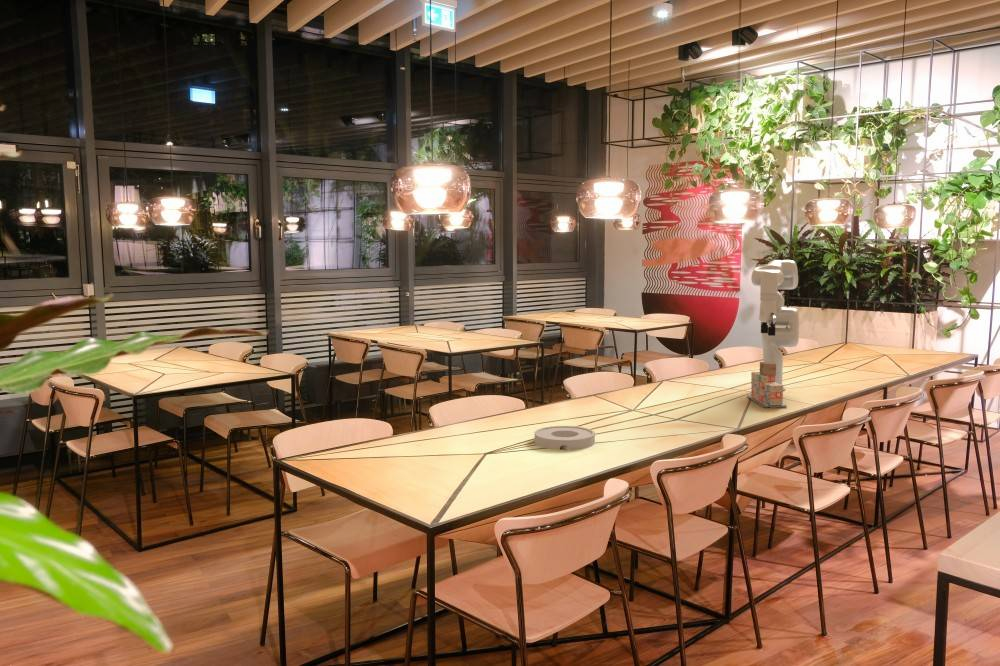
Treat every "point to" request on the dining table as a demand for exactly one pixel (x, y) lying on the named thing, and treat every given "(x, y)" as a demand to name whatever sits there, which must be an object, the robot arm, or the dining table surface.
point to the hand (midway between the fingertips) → (767, 334)
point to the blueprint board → (765, 403)
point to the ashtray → (564, 437)
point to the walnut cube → (768, 368)
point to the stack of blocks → (766, 389)
